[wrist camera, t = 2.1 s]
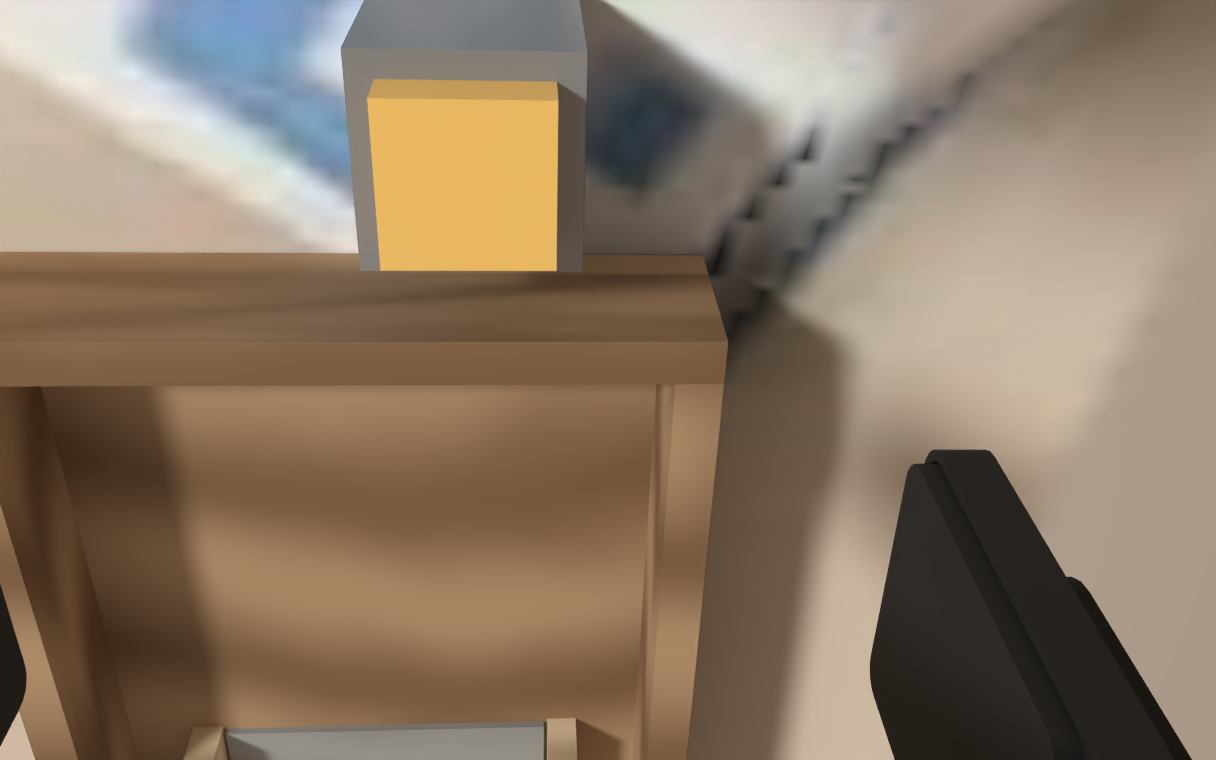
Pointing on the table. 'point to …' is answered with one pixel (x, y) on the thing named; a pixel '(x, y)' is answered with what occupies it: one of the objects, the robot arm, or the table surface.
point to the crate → (356, 505)
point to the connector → (467, 134)
